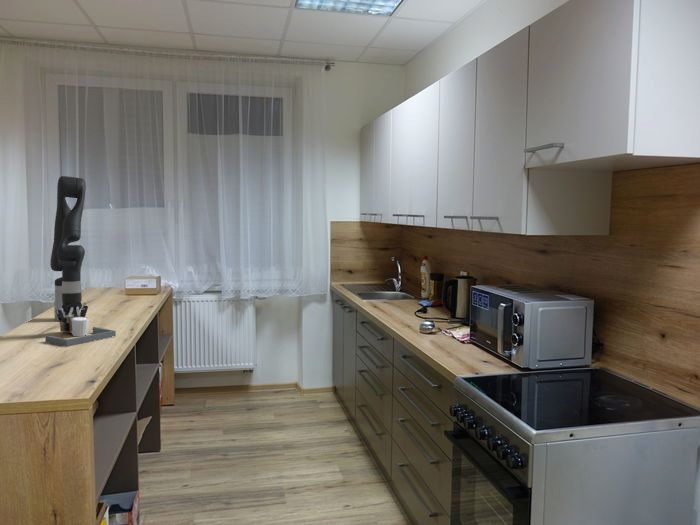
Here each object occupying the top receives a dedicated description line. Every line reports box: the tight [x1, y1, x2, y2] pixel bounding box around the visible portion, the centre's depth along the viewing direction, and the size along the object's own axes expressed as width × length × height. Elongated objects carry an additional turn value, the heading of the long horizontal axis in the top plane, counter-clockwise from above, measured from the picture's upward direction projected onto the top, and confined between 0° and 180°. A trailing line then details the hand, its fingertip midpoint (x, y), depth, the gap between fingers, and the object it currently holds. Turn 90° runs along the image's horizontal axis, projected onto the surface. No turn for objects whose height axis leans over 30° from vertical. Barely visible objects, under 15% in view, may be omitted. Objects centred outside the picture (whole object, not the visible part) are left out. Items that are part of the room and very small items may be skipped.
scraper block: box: [59, 317, 75, 333], centre depth 232 cm, size 8×4×6 cm, turn 60°
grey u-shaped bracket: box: [44, 326, 117, 347], centre depth 222 cm, size 14×22×2 cm, turn 151°
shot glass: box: [71, 316, 90, 337], centre depth 229 cm, size 7×7×7 cm
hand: (72, 330), depth 231 cm, fingers closed on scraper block, 4 cm apart
